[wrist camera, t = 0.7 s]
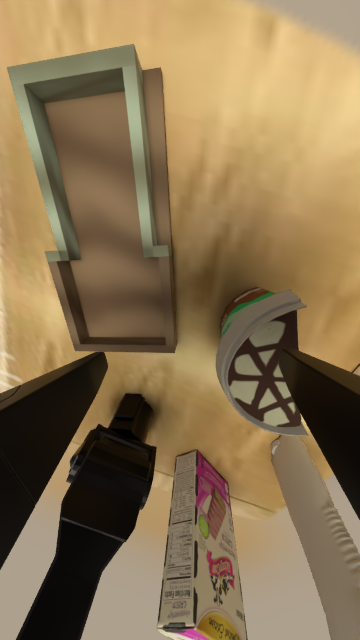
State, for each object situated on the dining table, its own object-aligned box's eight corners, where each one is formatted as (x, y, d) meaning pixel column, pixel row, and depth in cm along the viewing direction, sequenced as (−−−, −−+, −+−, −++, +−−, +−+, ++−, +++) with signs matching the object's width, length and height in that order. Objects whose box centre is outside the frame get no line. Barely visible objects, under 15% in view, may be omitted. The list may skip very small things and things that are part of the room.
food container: (201, 287, 21) (202, 318, 11) (256, 274, 20) (306, 297, 10) (220, 372, 25) (232, 445, 16) (266, 365, 24) (308, 440, 14)
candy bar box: (229, 482, 34) (253, 669, 19) (207, 488, 36) (213, 666, 20) (197, 447, 31) (195, 634, 16) (174, 455, 33) (153, 633, 18)
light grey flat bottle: (287, 468, 31) (455, 892, 11) (262, 464, 31) (381, 870, 11) (307, 425, 27) (643, 980, 6) (279, 421, 27) (516, 940, 7)
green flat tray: (177, 342, 24) (174, 352, 21) (86, 341, 25) (75, 350, 23) (161, 73, 14) (154, 40, 12) (19, 96, 16) (-11, 70, 14)
